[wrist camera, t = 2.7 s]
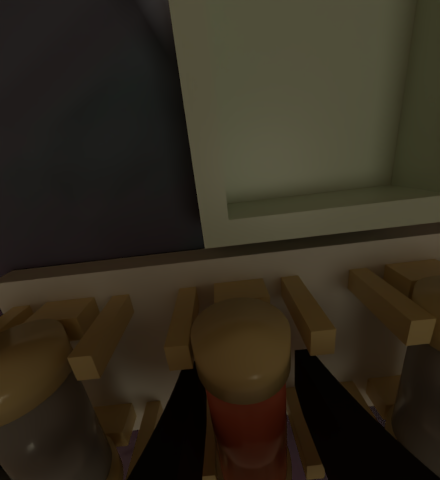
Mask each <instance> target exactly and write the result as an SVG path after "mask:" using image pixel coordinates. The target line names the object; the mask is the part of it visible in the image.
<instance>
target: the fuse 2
mask: <svg viewBox="0 0 440 480" xmlns="http://www.w3.org/2000/svg"><path fill="white" fill-rule="evenodd" d="M411 300H412V301H413V302H415V303H416V304H417V305H419V306H420V307H422V308H423V309H424V310H426V311H427V312H428V313H430V314H431V315H433V316H434V317H435V318H437V319H436V323H435V327H434V330H433V334H432V338H431V342H430V344H420V345H411V346H407V349H406V354H405V358H404V363H403V367H402V372H401V376H400V381H399V385H398V390H397V394H396V399H395V404H394V405H393V406H392V407H391V408H390V409H389V411H388V414H387V418H386V423H385V429H386V430H387V431H388V432H389V433H390V434H391V435H392V436H393V437H394V438H395V439H396V440H397V441H399V442H400V443H401V444H402V445H403V446H404V447H405V448H406V449H407V450H408V451H410V452H411V453H412V454H413V455H414V456H415V457H416V458H417V459H419V460H420V461H421V462H422V463H423V464H424V465H425V466H427V467H428V468H429V469H430V470H431V471H432V472H434V473H435V474H436V475H437V476H438V477H439V478H440V276H430V277H426V278H423V279H420V280H418V281H417V282H416V283H415V285H414V290H413V295H412V299H411Z"/></svg>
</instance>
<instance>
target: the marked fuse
mask: <svg viewBox="0 0 440 480" xmlns="http://www.w3.org/2000/svg"><path fill="white" fill-rule="evenodd" d="M190 338H191V344H192V349H193V354H194V359H195V364H196V369H197V373H198V377H199V379H200V381H201V383H202V384H203V386H204V387H205V389H206V394H207V400H208V405H209V410H210V415H211V421H212V426H213V431H214V437H215V442H216V447H217V454H216V467H217V474H218V479H219V480H292V466H291V458H290V453H289V450H288V447H287V415H286V381H287V379H288V377H289V374H290V370H291V330H290V325H289V322H288V320H287V318H286V317H285V315H284V314H283V313H282V312H281V311H280V310H279V309H278V308H277V307H275V306H273V305H272V304H270V303H268V302H265V301H262V300H259V299H254V298H231V299H226V300H223V301H220V302H217V303H215V304H213V305H211V306H209V307H208V308H206V309H205V310H203V311H202V312H201V313H200V314H199V315H198V317H197V318H196V319H195V321H194V323H193V325H192V328H191V333H190Z"/></svg>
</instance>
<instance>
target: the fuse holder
mask: <svg viewBox="0 0 440 480" xmlns="http://www.w3.org/2000/svg"><path fill="white" fill-rule="evenodd" d="M430 276H440V222H435V223H426V224H417V225H409V226H400V227H391V228H382V229H374V230H365V231H356V232H347V233H338V234H330V235H321V236H312V237H303V238H295V239H286V240H277V241H268V242H260V243H251V244H242V245H233V246H224V247H216V248H207V249H198V250H189V251H180V252H171V253H163V254H154V255H145V256H136V257H128V258H119V259H110V260H101V261H92V262H84V263H75V264H66V265H57V266H49V267H40V268H31V269H22V270H14V271H11V272H9V273H7V274H6V275H4V276H2V277H0V309H1V311H2V313H3V315H2V316H1V317H0V332H2V331H4V330H6V329H9V328H11V327H14V326H17V325H20V324H23V323H26V322H30V321H34V320H40V319H54V320H57V321H59V322H60V323H61V324H62V325H63V327H64V330H65V332H66V334H67V336H68V339H69V341H70V343H71V346H72V348H73V351H72V352H71V353H70V355H69V356H68V357H67V359H68V361H69V364H70V366H71V368H72V370H73V372H74V375H75V377H76V379H77V381H80V380H81V381H82V384H83V386H84V388H85V390H86V393H87V395H88V397H89V399H90V402H91V404H92V406H93V408H94V410H95V413H96V415H97V417H98V419H99V422H100V424H101V426H102V428H103V431H104V433H105V435H107V436H109V437H110V438H111V439H112V441H113V442H114V444H115V447H118V446H128V444H129V440H130V437H131V434H132V430H139V433H138V436H137V440H136V443H135V447H134V451H133V454H132V458H131V462H130V465H129V469H128V473H127V476H126V480H127V478H128V477H129V475H130V473H131V471H132V470H133V468H134V466H135V465H136V463H137V461H138V459H139V457H140V456H141V454H142V452H143V450H144V448H145V446H146V444H147V443H148V441H149V439H150V437H151V435H152V433H153V431H154V429H155V427H156V425H157V423H158V421H159V419H160V417H161V415H162V413H163V411H164V409H165V407H166V404H167V402H168V400H169V398H170V396H171V394H172V391H173V389H174V387H175V384H176V382H177V379H178V377H179V374H180V372H181V370H184V369H193V363H194V361H195V359H194V354H193V349H192V344H191V338H190V333H191V328H192V325H193V323H194V321H195V319H196V318H197V317H198V315H199V314H200V313H201V312H202V311H203V310H205V309H206V308H208V307H209V306H211V305H213V304H215V303H217V302H220V301H223V300H226V299H231V298H254V299H259V300H262V301H265V302H268V303H270V304H272V305H273V306H275V307H277V308H278V309H279V310H280V311H281V312H282V313H283V314H284V315H285V317H286V318H287V320H288V322H289V325H290V330H291V370H290V374H289V377H288V379H287V381H286V415H288V417H289V420H290V424H291V427H292V431H293V434H294V438H295V441H296V445H297V448H298V452H299V455H300V459H301V462H302V466H303V469H304V473H305V476H306V480H309V479H319V478H324V477H325V470H324V467H323V465H322V462H321V460H320V457H319V455H318V452H317V449H316V447H315V444H314V442H313V439H312V437H311V434H310V432H309V429H308V426H307V424H306V421H305V419H304V416H303V413H302V410H301V406H300V403H299V400H298V396H297V393H296V389H295V350H301V349H307V350H308V352H309V354H310V356H317V357H318V358H319V360H320V361H321V362H322V363H323V364H324V365H325V367H326V368H327V369H328V370H329V371H330V372H331V373H332V375H333V376H334V377H335V378H336V379H337V380H338V381H339V382H340V383H341V385H342V386H343V387H344V388H345V389H346V390H347V391H348V392H349V393H350V394H351V395H352V396H353V397H354V398H355V399H356V400H357V401H358V403H359V404H360V405H361V406H362V407H363V408H364V409H365V410H366V411H367V412H368V413H369V414H370V415H371V416H372V417H373V418H374V419H375V420H376V421H377V419H376V417H375V416H374V414H373V413H372V411H371V409H370V408H369V406H375V408H376V409H377V411H378V412H379V414H380V416H381V417H382V419H383V420H386V418H387V414H388V411H389V409H390V408H391V407H392V406H393V405H394V404H395V399H396V394H397V390H398V385H399V381H400V376H401V372H402V367H403V363H404V358H405V354H406V349H407V346H411V345H420V344H430V342H431V338H432V334H433V330H434V327H435V323H436V319H437V318H435V317H434V316H433V315H431V314H430V313H428V312H427V311H426V310H424V309H423V308H422V307H420V306H419V305H417V304H416V303H415V302H413V301H412V300H411V299H412V295H413V290H414V285H415V283H416V282H417V281H418V280H420V279H423V278H426V277H430ZM205 390H206V389H205ZM206 395H207V394H206ZM377 422H378V421H377ZM378 423H379V422H378ZM216 454H217V447H216V442H215V437H214V431H213V426H212V421H211V415H210V410H209V405H208V400H207V427H206V439H205V452H204V464H203V476H202V480H218V474H217V467H216Z"/></svg>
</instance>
